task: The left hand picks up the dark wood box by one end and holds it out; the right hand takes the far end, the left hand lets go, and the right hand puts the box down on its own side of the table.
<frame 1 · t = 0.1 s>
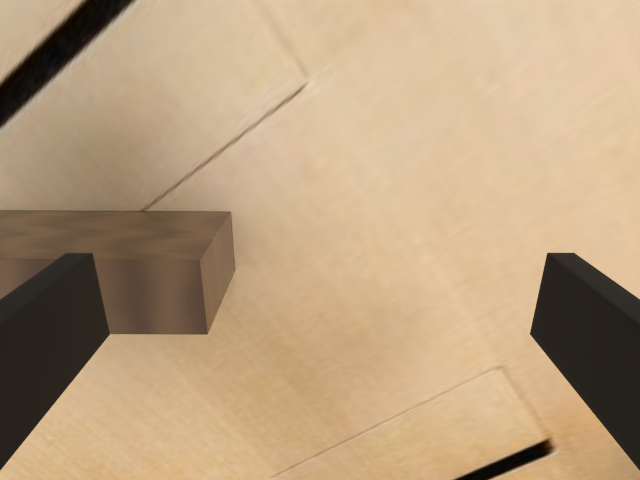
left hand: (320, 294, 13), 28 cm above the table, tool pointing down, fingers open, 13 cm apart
box: (110, 241, 42), on the table
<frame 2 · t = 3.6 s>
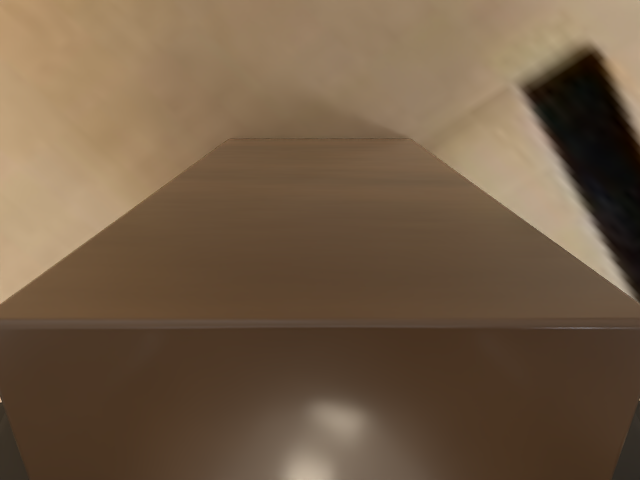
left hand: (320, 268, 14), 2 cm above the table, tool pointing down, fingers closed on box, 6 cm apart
box: (320, 415, 19), on the table, touching left hand
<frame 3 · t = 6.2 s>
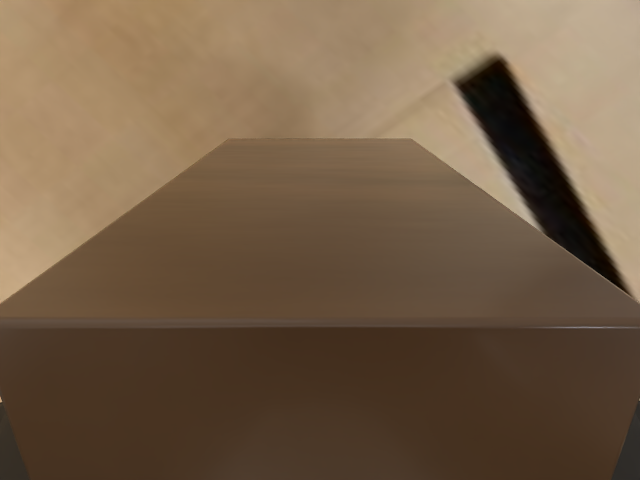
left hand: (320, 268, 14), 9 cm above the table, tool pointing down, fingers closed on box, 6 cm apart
box: (320, 415, 19), point 7 cm above the table, touching left hand
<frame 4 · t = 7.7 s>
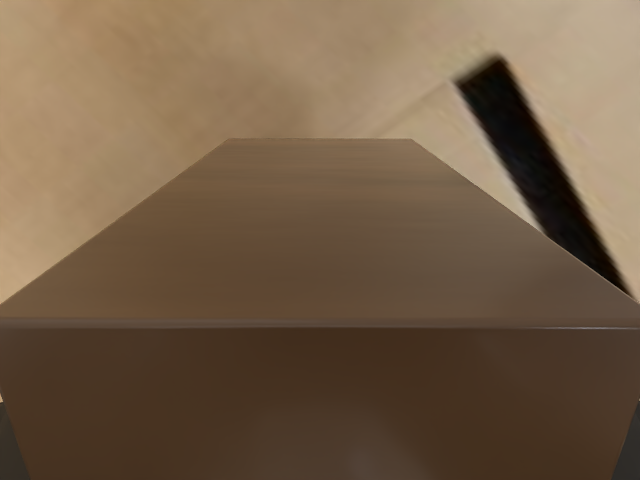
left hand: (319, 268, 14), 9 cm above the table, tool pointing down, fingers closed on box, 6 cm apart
box: (319, 415, 19), point 7 cm above the table, touching left hand, right hand
when the left hand's fingers open (9 cm above the table, at t = 8.9 s): box stays where it is, held by the right hand.
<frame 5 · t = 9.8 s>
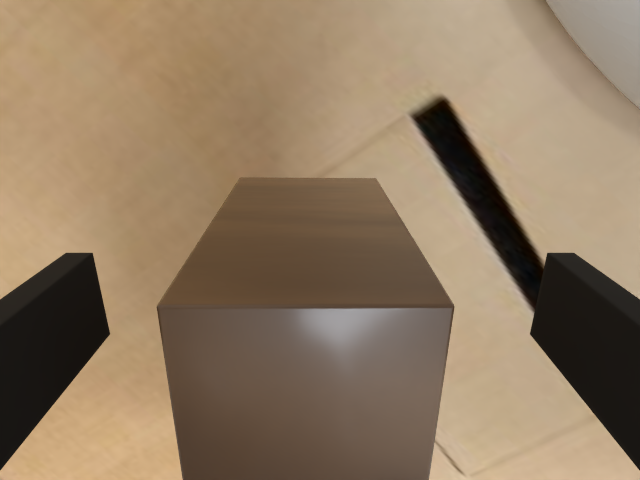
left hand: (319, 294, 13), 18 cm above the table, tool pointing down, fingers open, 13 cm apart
box: (308, 388, 24), point 10 cm above the table, touching right hand
when the right hand's fingers open (7 cm above the table, at t = 13.9 s): box drops 1 cm, on the table.
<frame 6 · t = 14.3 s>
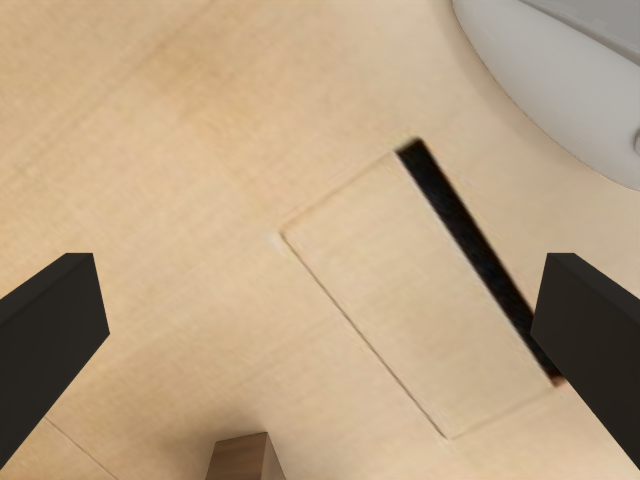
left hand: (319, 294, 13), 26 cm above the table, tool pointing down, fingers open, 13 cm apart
projector: (580, 40, 34), on the table
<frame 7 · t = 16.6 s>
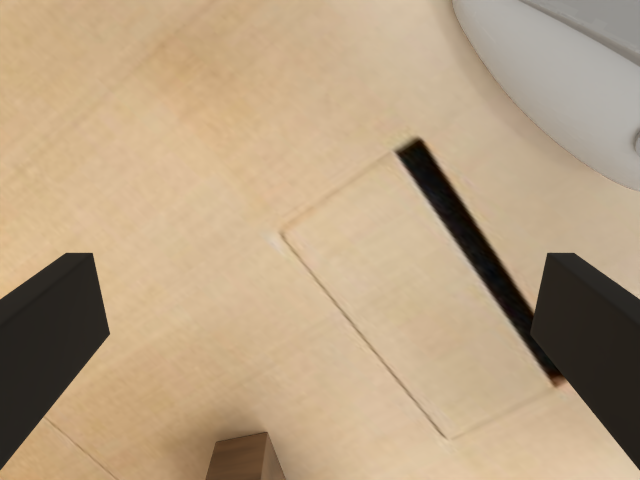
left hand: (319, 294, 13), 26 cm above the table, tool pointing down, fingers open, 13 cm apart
projector: (580, 40, 34), on the table
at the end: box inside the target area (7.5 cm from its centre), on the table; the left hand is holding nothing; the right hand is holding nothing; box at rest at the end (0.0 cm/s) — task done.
